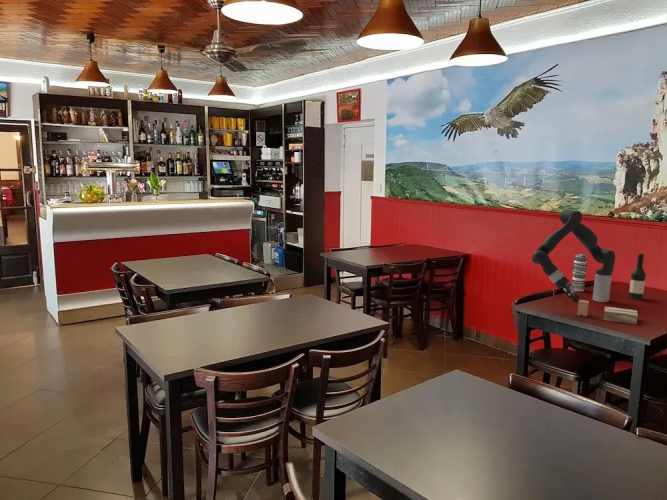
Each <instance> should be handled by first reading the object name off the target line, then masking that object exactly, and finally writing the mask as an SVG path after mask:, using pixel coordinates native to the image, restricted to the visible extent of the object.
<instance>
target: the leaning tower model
mask: <svg viewBox="0 0 667 500" xmlns="http://www.w3.org/2000/svg"><path fill="white" fill-rule="evenodd" d="M587 261H588V256H587V255H586V254H584V253H576V255H574V260H573V262H572V263H573V264H572V279H571V284H570V286H571V287H572V288H573V289H574V290H575V292H585V289H586V288H585V287H586V285H585V284H586V275H587V270H588V269H587V267H588V262H587Z"/></svg>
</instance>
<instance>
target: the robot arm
mask: <svg viewBox="0 0 667 500" xmlns="http://www.w3.org/2000/svg"><path fill="white" fill-rule="evenodd" d="M559 220H560V222H561V223H562V224H563V226H561V228H558V230H555V231H554V232H552V233H551V234H549V235H548V236H547V238H546V239H544V241H543V242H542V244H541V245H540V247H539V246H538V248H537V249H536V250H535V251H534V252H533V254H532V255H531V261H532V263H534V264H536V265H540V266H541V267H542V271H543V272H544V273H545V275H546V276H547V277H548V278H549V280H550V281H551V282H552V283H553V284H554V286H556V287H557V289H558V290H560V289H562V292H564V294H565V295H566V296H567V297H568V298H569V299H571V300H572V302H574V303H575V304H577V303H579V300H581V297H580V296H579V294H578V293H577V291H575V290H574V289H573V288H572V287H571V286H572V285H571V284H570V283H569V282H570V280H569V279H568V278H567V277H566V275H565V274H564V273H563V272H562V271H561V270H560V269H559V268H558V267H557V266H556V265H555V264H554V263H553V261H552V259H551V258H550V256H549V254H550V253H551V252H553V251H554V250H555V248H556V247H557V246H558V245H559V243H560V242H561V241H563V239H564V238H565V237H566V236H567V235H569V234H570V233H571V232H572V233H573V235H574V236H575V237H576V238H577V239H578V241H579V242H580V243H581V244H582V245H583V246H584V247H585V249H587V251H588V252H589V253H590V255H591V257H592V258H593V259H594V261H595V262H597V263H600V264H603V265H602V267H600V268H596V269H595V275H594V281H593V282H594V283H593V290H592V291H593V293H592V300H593V301H595V302H599V303H608V302H609V300H610V294H611V285H612V284H611V283H612V274H613V271H614V269H615V268H614V267H615V261H616V253H615V252H614V250H611V249H607V248H601V246H599V244H598V236H597V234H596V233H595V232H594V231H593V230H592V229H591V228H590V227H588V226H587V225H585V224H583V223H582V220H583V214H582V212H581V211H578V210H574V209H563V210H562V211H561V212H560V214H559Z"/></svg>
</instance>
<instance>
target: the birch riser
mask: <svg viewBox="0 0 667 500" xmlns="http://www.w3.org/2000/svg"><path fill="white" fill-rule="evenodd" d="M638 318H639V317H638V310H637V309H636V310H635V309H628V308H620V307H615V306H614V307H613V306H604V314H603V321H610V322H616V323H624V324H630V325H637V323H638Z"/></svg>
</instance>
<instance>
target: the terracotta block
mask: <svg viewBox="0 0 667 500" xmlns="http://www.w3.org/2000/svg"><path fill="white" fill-rule="evenodd" d="M578 300H579V302H577V303H578V305H577V316H580V315H583V316H582V317H588V313H589V312H588V311H589V303H590V302H589V300H584V299H578Z"/></svg>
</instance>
